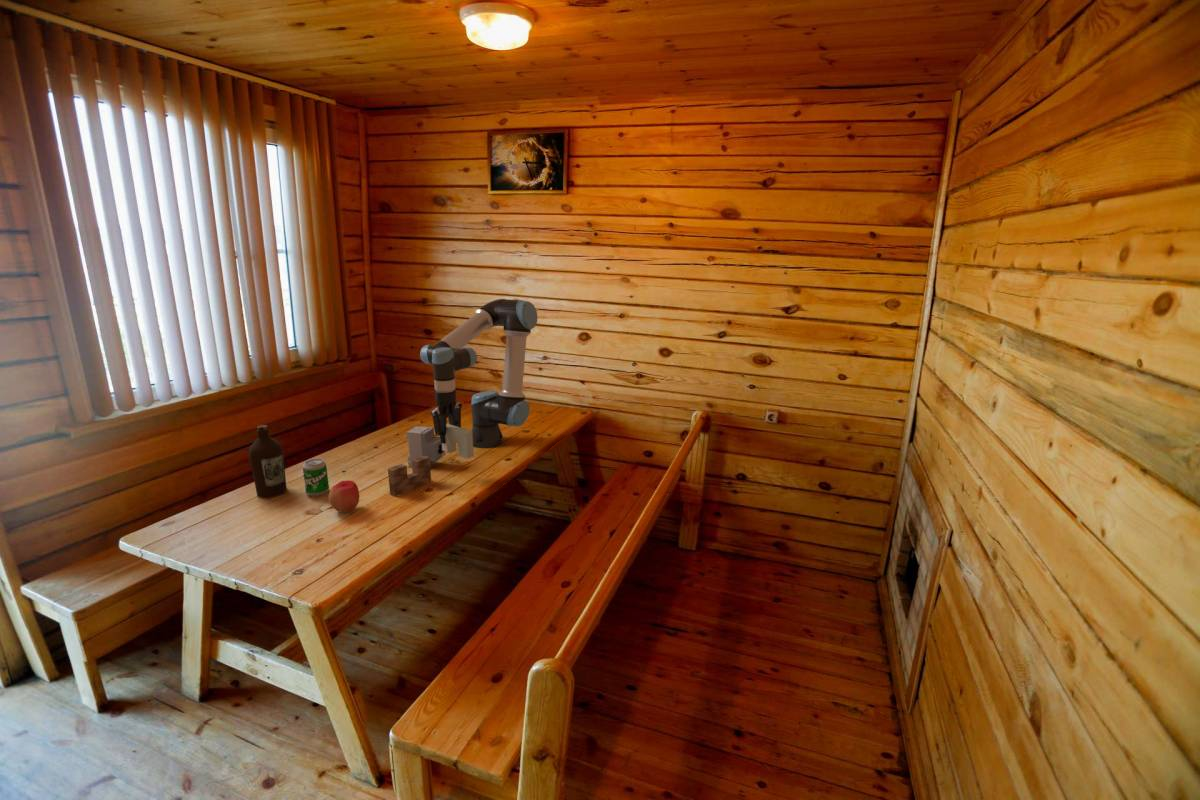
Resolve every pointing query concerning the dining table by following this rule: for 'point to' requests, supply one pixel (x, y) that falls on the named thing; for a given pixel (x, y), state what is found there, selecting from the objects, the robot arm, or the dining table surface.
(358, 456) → the dining table surface
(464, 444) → the grey panel
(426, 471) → the brown notched flat block
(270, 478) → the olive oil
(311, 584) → the dining table surface
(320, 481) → the soda can
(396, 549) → the dining table surface
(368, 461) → the dining table surface
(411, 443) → the circuit breaker
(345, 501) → the apple
